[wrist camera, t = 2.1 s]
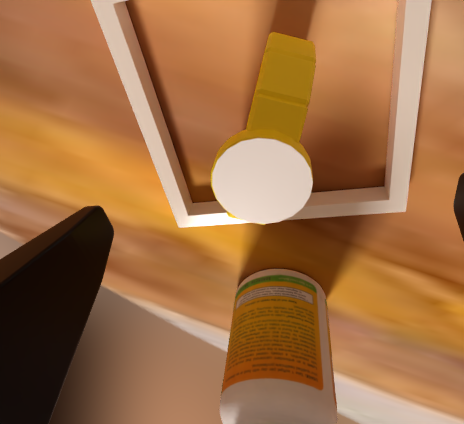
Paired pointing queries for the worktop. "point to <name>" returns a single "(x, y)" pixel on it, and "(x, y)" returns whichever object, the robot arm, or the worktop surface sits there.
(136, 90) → the white square frame
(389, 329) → the worktop surface
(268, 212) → the watch
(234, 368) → the supplement bottle
